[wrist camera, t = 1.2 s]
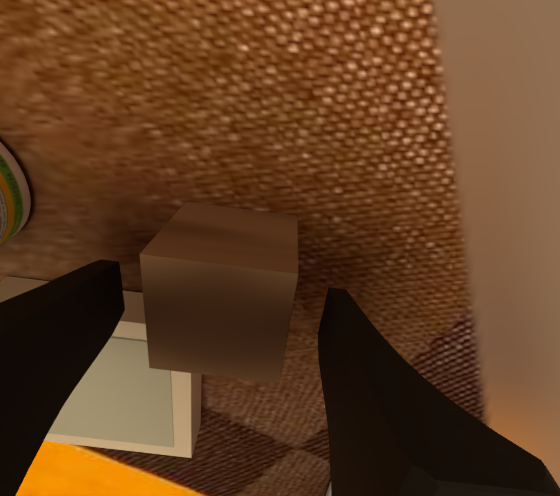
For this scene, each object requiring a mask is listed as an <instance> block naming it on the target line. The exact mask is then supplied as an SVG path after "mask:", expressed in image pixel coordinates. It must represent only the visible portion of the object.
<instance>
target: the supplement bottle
mask: <svg viewBox="0 0 560 496" xmlns="http://www.w3.org/2000/svg"><path fill="white" fill-rule="evenodd" d="M30 205H31V199H30V192H29V188H28V184H27V182H26V179H25V176H24V174H23V172H22V170H21V168H20V167H19V165H18V163H17V162H16V160H15V159H14V157H13V156H12V155H11V153H10V152H9V151H8V150H7V149H6V147H5V146H4V145H3V144H2V143H1V142H0V244H2V243H4V242H5V241H7V240H8V239H10V238H11V237H13V236H14V235H16V234H17V233H18V232H19V231H20V230H21V229H22V227H23V226H24V224H25V223H26V221H27V219H28V216H29V212H30Z"/></svg>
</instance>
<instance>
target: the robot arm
mask: <svg viewBox="0 0 560 496" xmlns="http://www.w3.org/2000/svg"><path fill="white" fill-rule="evenodd" d="M124 311H125V305H124V297H123V288H122V280H121V272H120V264H119V262H117V261H109V260H98V261H96V262H93V263H91V264H88V265H86V266H84V267H81V268H79V269H77V270H74V271H72V272H70V273H68V274H66V275H63V276H61V277H59V278H57V279H55V280H52V281H50V282H48V283H46V284H43V285H41V286H39V287H37V288H34V289H32V290H29V291H27V292H24V293H22V294H20V295H17V296H15V297H12V298H10V299H7V300H5V301H3V302H0V496H15V495H16V493H17V491H18V489H19V487H20V485H21V483H22V481H23V479H24V477H25V475H26V473H27V471H28V469H29V467H30V465H31V464H32V462H33V460H34V458H35V456H36V454H37V452H38V450H39V449H40V447H41V445H42V443H43V441H44V439H45V437H46V435H47V434H48V432H49V430H50V428H51V427H52V425H53V423H54V421H55V420H56V418H57V416H58V414H59V413H60V411H61V409H62V407H63V406H64V404H65V402H66V401H67V399H68V398H69V396H70V395H71V393H72V392H73V390H74V389H75V387H76V386H77V385H78V383H79V382H80V380H81V379H82V377H83V376H84V375H85V373H86V372H87V370H88V369H89V368H90V366H91V365H92V363H93V362H94V360H95V359H96V358H97V356H98V355H99V353H100V352H101V351H102V349H103V348H104V346H105V345H106V343H107V342H108V340H109V339H110V337H111V336H112V334H113V332H114V331H115V329H116V327H117V325H118V323H119V321H120V319H121V317H122V315H123V313H124ZM318 353H319V366H320V373H321V380H322V387H323V394H324V401H325V407H326V414H327V421H328V431H329V447H330V468H331V482H330V485H329V487H328V490H327V493H326V496H560V488H559V486H558V485H557V483H556V482H555V480H554V479H553V477H552V475H551V474H550V472H549V471H548V469H547V468H546V466H545V465H544V463H543V462H542V461H541V460H540V459H538V458H536V457H535V456H533V455H532V454H530V453H528V452H527V451H525V450H523V449H522V448H521V447H519V446H517V445H516V444H514V443H513V442H511V441H509V440H508V439H506V438H505V437H503V436H501V435H500V434H498V433H497V432H495V431H494V430H492V429H491V428H489V427H488V426H486V425H485V424H483V423H482V422H481V421H479V420H478V419H476V418H475V417H473V416H472V415H470V414H469V413H468V412H466V411H465V410H464V409H462V408H461V407H460V406H458V405H457V404H456V403H454V402H453V401H452V400H450V399H449V398H448V397H447V396H445V395H444V394H443V393H442V392H440V391H439V390H438V389H437V388H435V387H434V386H433V385H432V384H431V383H429V382H428V381H427V380H426V379H425V378H424V377H422V376H421V375H420V374H419V373H418V372H417V371H416V370H415V369H414V368H413V367H412V366H411V365H410V364H408V363H407V362H406V361H405V360H404V359H403V358H402V357H401V356H400V355H399V354H398V353H397V352H396V351H395V349H394V348H393V347H392V346H391V345H390V344H389V343H388V342H387V341H386V340H385V339H384V337H383V336H382V335H381V334H380V333H379V332H378V330H377V329H376V328H375V327H374V326H373V324H372V323H371V322H370V321H369V319H368V318H367V317H366V316H365V314H364V313H363V312H362V310H361V309H360V308H359V306H358V305H357V304H356V302H355V301H354V300H353V298H352V297H351V296H350V294H349V293H348V292H347V290H344V289H336V288H328V292H327V297H326V301H325V305H324V310H323V314H322V318H321V323H320V327H319V331H318Z"/></svg>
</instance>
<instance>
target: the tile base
mask: <svg viewBox="0 0 560 496" xmlns="http://www.w3.org/2000/svg"><path fill="white" fill-rule="evenodd" d="M48 282H50V281H43V280H35V279H27V278H18V277H10V276H7V277H6V278H4V279H3V280H2V281H0V302H3V301H5V300H7V299H10V298H12V297H15V296H17V295H20V294H22V293H24V292H27V291H29V290H32V289H34V288H37V287H39V286H41V285H43V284H46V283H48ZM123 297H124V305H125V311H124V313H123V315H122V317H121V319H120V321H119V323H118V325H117V327H116V329H115V331H114V332H113V334H112V336H111V337H110V339H109V340H108V342H107V343H106V345H105V346H104V348H103V349H102V351H101V352H100V353H99V355H98V356H97V358H96V359H95V360H94V362H93V363H92V365H91V366H90V368H89V369H88V370H87V372H86V373H85V375H84V376H83V377H82V379H81V380H80V382H79V383H78V385H77V386H76V387H75V389H74V390H73V392H72V393H71V395H70V396H69V398H68V399H67V401H66V402H65V404H64V406H63V407H62V409H61V411H60V413H59V414H58V416H57V418H56V420H55V421H54V423H53V425H52V427H51V428H50V430H49V432H48V434H47V435H46V437H45V439H44V441H49V442H58V443H66V444H75V445H84V446H93V447H101V448H110V449H119V450H127V451H136V452H145V453H154V454H162V455H171V456H180V457H189V458H191V457H192V454H193V450H194V446H195V443H196V439H197V435H198V432H199V428H200V424H201V382H202V374H194V373H186V372H177V371H169V370H161V369H152V368H149V359H148V347H147V336H146V324H145V313H144V301H143V293H140V292H132V291H123Z"/></svg>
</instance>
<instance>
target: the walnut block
mask: <svg viewBox="0 0 560 496" xmlns="http://www.w3.org/2000/svg"><path fill="white" fill-rule="evenodd" d="M139 255H140V267H141V278H142V290H143V301H144V313H145V324H146V336H147V347H148V359H149V368H152V369H161V370H169V371H177V372H186V373H194V374H202V375H211V376H219V377H227V378H236V379H244V380H252V381H261V382H269V383H277V384H279V383H280V377H281V371H282V365H283V360H284V354H285V348H286V342H287V337H288V331H289V325H290V320H291V314H292V308H293V302H294V297H295V291H296V285H297V279H298V216H295V215H287V214H280V213H272V212H264V211H256V210H249V209H241V208H233V207H226V206H218V205H210V204H202V203H195V202H187V201H186V202H185V203H184V204H183V205H182V206H181V208H180V209H179V210H178V211H177V212H176V213H175V214H174V215H173V217H172V218H171V219H170V220H169V221H168V222H167V223H166V224H165V226H164V227H163V228H162V229H161V230H160V231H159V232H158V234H157V235H156V236H155V237H154V238H153V239H152V240H151V241H150V243H149V244H148V245H147V246H146V247H145V248H144V249H143V251H142V252H141V253H140V254H139Z"/></svg>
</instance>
